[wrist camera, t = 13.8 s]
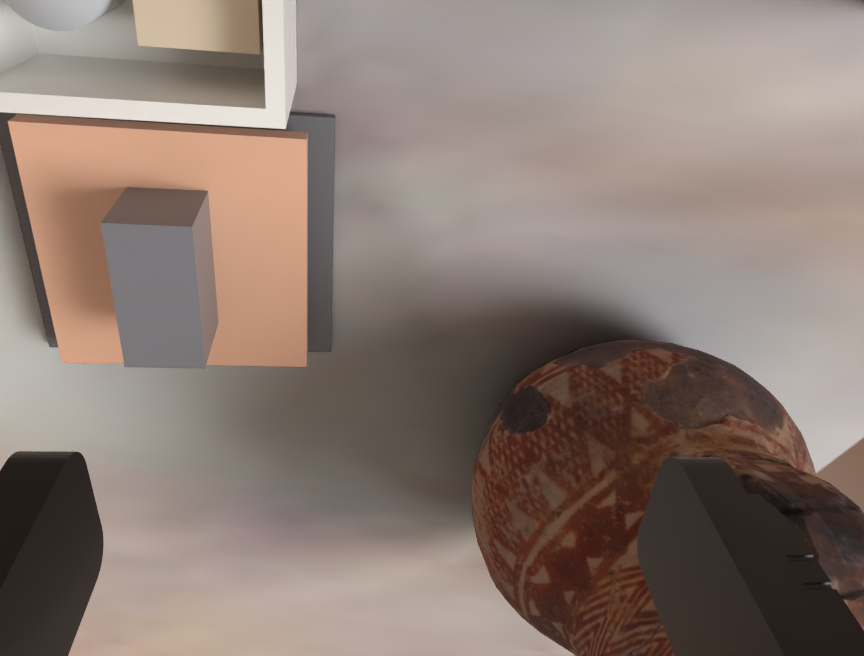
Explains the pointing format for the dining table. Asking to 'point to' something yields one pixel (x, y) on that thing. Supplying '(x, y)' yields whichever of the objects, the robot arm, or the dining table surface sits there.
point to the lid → (169, 240)
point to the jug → (633, 485)
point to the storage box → (150, 60)
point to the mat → (318, 219)
